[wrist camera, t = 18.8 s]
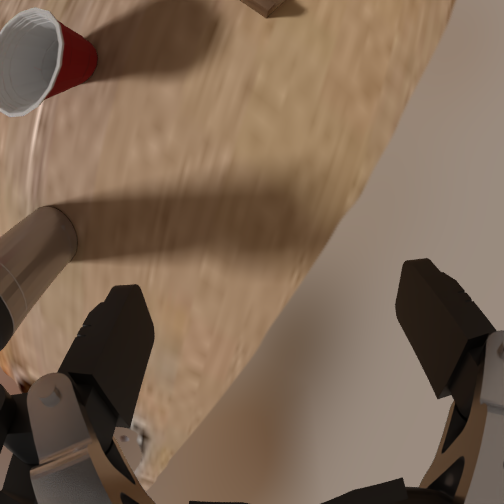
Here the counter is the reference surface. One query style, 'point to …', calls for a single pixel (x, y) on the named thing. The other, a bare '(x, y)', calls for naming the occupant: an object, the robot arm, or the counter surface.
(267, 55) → the counter surface
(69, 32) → the plastic cup
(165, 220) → the counter surface
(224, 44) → the counter surface
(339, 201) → the counter surface
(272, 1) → the shallow wooden tray
